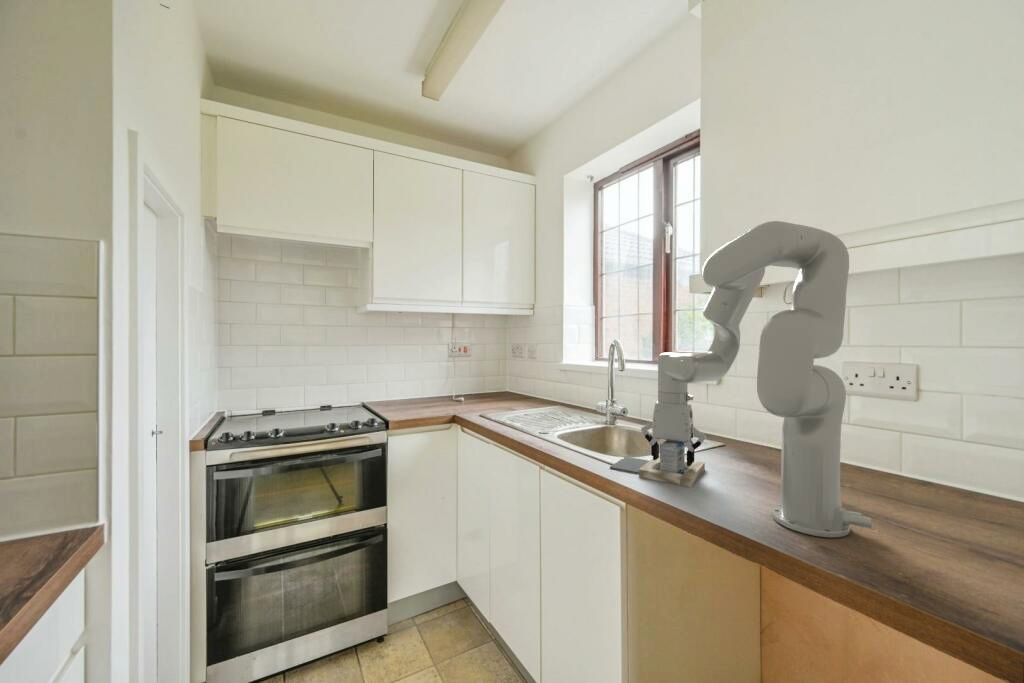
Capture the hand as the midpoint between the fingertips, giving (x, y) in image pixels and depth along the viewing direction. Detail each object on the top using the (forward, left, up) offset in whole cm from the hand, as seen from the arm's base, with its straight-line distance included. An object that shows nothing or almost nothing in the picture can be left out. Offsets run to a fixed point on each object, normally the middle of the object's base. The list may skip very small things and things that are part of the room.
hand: (672, 461), depth 113 cm
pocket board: (0, 0, -3) cm, 3 cm away
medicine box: (0, 0, -3) cm, 3 cm away
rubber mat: (+11, 0, -3) cm, 12 cm away
